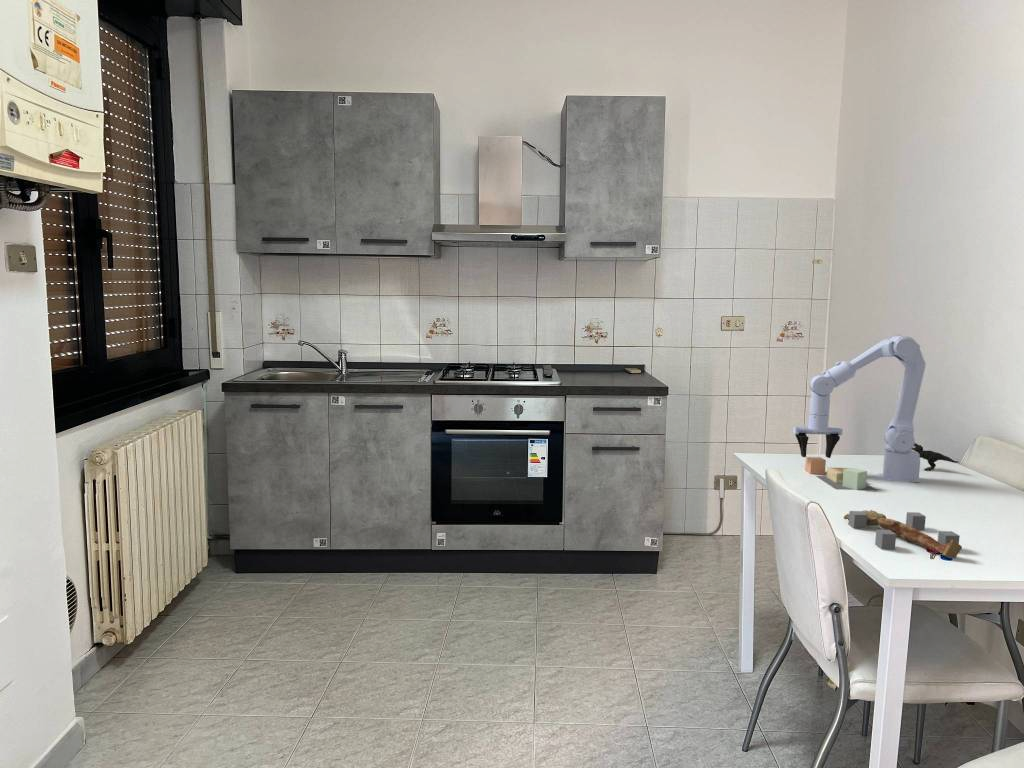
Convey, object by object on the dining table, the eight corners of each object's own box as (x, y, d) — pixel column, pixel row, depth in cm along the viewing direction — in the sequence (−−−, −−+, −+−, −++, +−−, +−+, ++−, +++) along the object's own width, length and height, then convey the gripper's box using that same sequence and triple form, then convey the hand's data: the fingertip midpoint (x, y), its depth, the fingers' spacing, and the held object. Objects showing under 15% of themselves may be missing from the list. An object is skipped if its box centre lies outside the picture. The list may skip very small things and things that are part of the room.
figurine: (950, 536, 158) (846, 491, 186) (934, 560, 158) (833, 512, 186) (969, 552, 161) (864, 505, 189) (954, 576, 161) (851, 525, 188)
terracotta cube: (819, 472, 234) (820, 456, 233) (824, 475, 230) (825, 460, 229) (804, 471, 234) (805, 456, 233) (810, 475, 230) (811, 459, 229)
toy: (912, 465, 246) (914, 441, 245) (961, 474, 234) (963, 449, 233) (905, 467, 243) (907, 443, 242) (955, 476, 231) (957, 451, 230)
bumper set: (917, 526, 181) (919, 512, 181) (958, 550, 164) (959, 535, 164) (848, 524, 181) (849, 510, 181) (881, 549, 165) (882, 533, 164)
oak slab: (849, 477, 226) (850, 467, 226) (859, 483, 219) (860, 473, 219) (826, 476, 226) (827, 467, 226) (836, 482, 219) (836, 473, 219)
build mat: (854, 478, 227) (854, 476, 227) (877, 491, 212) (877, 490, 212) (815, 477, 227) (815, 475, 227) (835, 490, 213) (835, 489, 212)
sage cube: (865, 487, 215) (867, 471, 214) (856, 489, 212) (857, 472, 212) (851, 484, 218) (852, 467, 218) (842, 486, 216) (843, 469, 215)
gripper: (837, 412, 233) (833, 454, 235) (791, 411, 233) (787, 453, 235) (846, 416, 226) (843, 459, 228) (799, 415, 226) (795, 458, 228)
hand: (815, 456), depth 231 cm, fingers open, 7 cm apart
